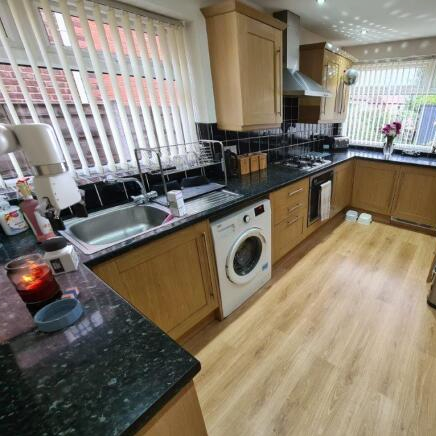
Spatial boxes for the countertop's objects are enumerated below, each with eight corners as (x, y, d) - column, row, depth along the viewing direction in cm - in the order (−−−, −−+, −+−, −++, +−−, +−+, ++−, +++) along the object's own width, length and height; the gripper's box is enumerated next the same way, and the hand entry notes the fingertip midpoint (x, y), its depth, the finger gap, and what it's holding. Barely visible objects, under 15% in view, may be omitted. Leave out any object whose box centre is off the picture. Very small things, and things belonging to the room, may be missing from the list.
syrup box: (186, 213, 148) (181, 190, 142) (179, 217, 142) (175, 193, 137) (178, 212, 149) (173, 189, 143) (171, 216, 144) (166, 192, 138)
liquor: (53, 242, 115) (27, 185, 104) (33, 245, 112) (4, 186, 101) (60, 235, 121) (36, 180, 110) (42, 238, 119) (15, 182, 108)
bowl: (31, 338, 66) (25, 327, 64) (49, 312, 74) (44, 302, 73) (76, 327, 69) (71, 317, 68) (88, 303, 78) (84, 294, 76)
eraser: (73, 302, 78) (70, 295, 77) (63, 304, 77) (60, 298, 76) (79, 292, 82) (76, 286, 81) (69, 294, 82) (66, 288, 80)
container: (77, 270, 94) (64, 240, 89) (50, 277, 90) (35, 246, 85) (79, 260, 100) (67, 232, 95) (54, 267, 96) (40, 238, 91)
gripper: (60, 164, 78) (79, 213, 84) (6, 177, 62) (35, 236, 69) (85, 163, 78) (102, 212, 85) (38, 176, 62) (63, 235, 69)
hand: (72, 223), depth 77 cm, fingers open, 9 cm apart
